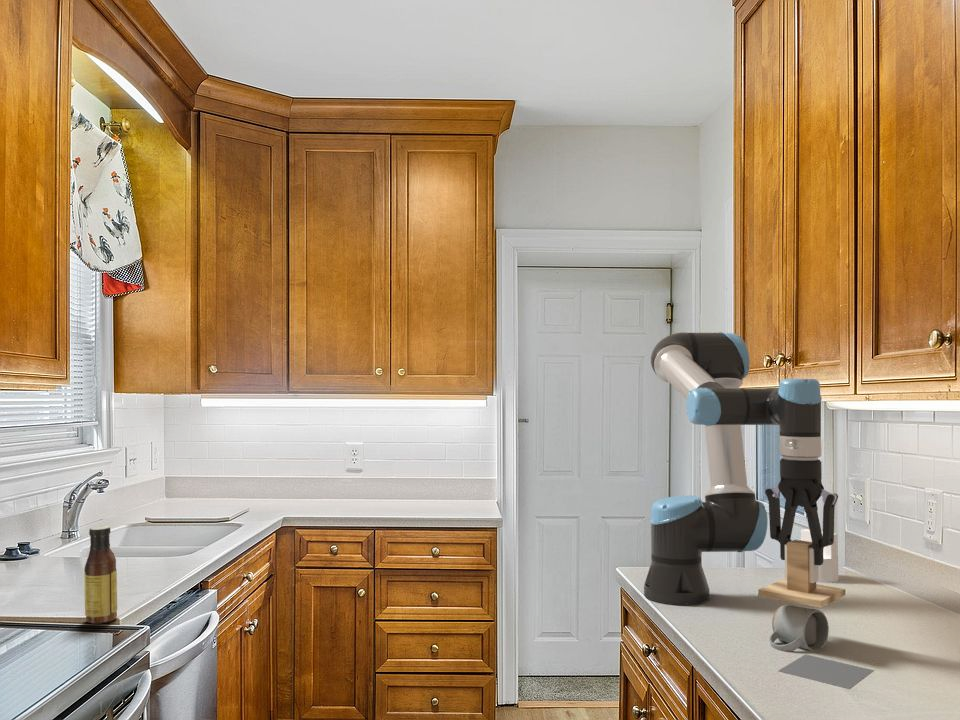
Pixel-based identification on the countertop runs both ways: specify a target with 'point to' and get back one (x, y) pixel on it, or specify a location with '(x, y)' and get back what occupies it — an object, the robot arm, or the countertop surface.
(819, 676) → the mat
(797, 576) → the wooden plaque with block
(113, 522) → the countertop surface
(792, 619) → the ceramic mug
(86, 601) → the sauce bottle
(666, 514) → the robot arm
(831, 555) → the base with upright slab
